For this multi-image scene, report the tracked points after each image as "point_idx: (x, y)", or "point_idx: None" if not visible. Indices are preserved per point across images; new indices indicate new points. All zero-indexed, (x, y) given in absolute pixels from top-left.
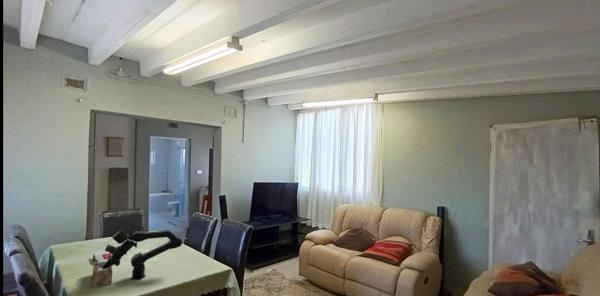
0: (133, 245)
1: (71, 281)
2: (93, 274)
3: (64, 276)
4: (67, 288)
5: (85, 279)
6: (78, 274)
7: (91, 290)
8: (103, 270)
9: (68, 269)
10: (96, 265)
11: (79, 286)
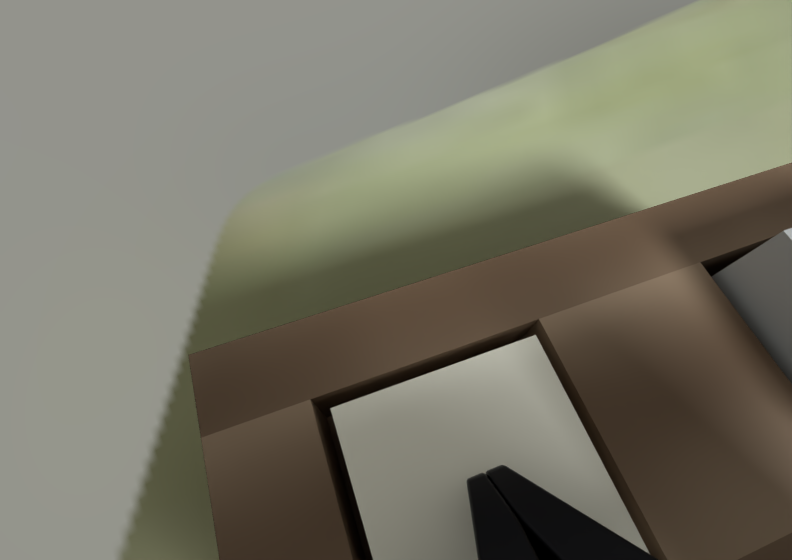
0: None
1: (480, 136)
2: (200, 376)
3: (601, 48)
4: (290, 169)
5: (544, 235)
6: (674, 125)
7: (153, 447)
8: (374, 556)
9: (770, 19)
10: (718, 242)
11: (329, 253)
